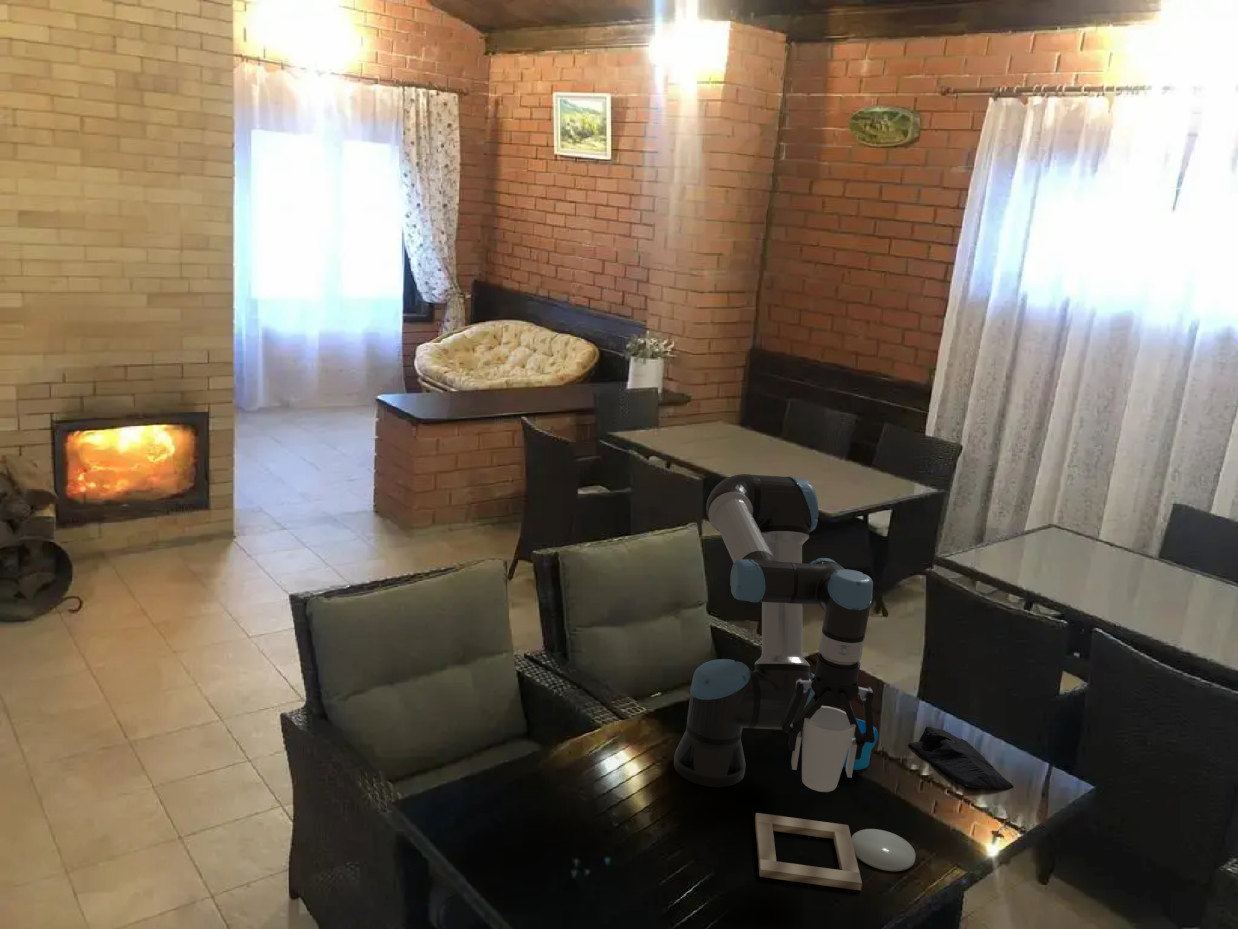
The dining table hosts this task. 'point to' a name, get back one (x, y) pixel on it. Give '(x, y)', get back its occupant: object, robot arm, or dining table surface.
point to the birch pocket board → (802, 873)
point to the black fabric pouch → (958, 760)
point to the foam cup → (825, 748)
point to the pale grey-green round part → (883, 850)
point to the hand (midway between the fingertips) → (821, 769)
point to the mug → (863, 749)
